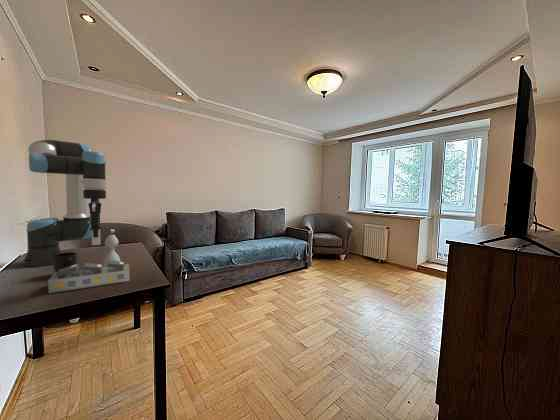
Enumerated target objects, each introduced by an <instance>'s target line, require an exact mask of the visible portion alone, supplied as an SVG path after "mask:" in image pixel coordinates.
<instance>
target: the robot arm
mask: <svg viewBox="0 0 560 420" xmlns="http://www.w3.org/2000/svg"><path fill="white" fill-rule="evenodd" d="M106 162H107V161H106V155H105V154H104V153H103V152H100V151H94V150H93V151H92V150H91V147H90V146H89V145H87V144H86V143H85V144H84V143H79V142H71V141H63V140H55V139H41V140H37V141H34V142H31V144H30V145H29V147H28V167H29V168H28V169H29V171H31V172H32V173H39V174H59V175H60V174H61V175H65V184H66V185H65V191H66V194H65V196H66V197H65V198H66V213H65V215H63V217H62V218H63V219H60V220H59V217H46V218H39V219H34V220H30V221H28V222H27V223H26V231H25V232H26V235H27V236H26V238H27V251H26V254H25V256H24V258H23V263H22V264H23V266H24V267H29V268H31V267H34V268H35V267H44V266H50V265H51V266H52V265H53V257H52V256H53V255H55V254H59V253H63V252H62V250H61V248H60V245H59V244H60V242H67V241H77V240H81V241H82V240H86V239H90V238H91V246H97V245H99V246H100V245H101V229H103V227H102V226H101V213H102V202H100V199H101V200H103V199H104V200H105V199H106V198H107V190H106V189H107V178H106ZM87 199H90V202H89V203H87ZM87 205H88V207H87ZM87 208H89V213H88V209H87Z"/></svg>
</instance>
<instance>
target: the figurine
mask: <svg viewBox="0 0 560 420" xmlns="http://www.w3.org/2000/svg"><path fill="white" fill-rule="evenodd" d="M115 232H116V230H115V229H112V228H111V229H110V233H111V234H109V235H107V237H106V238H105V240H104V246H105V247H106V248H108V250H109V251H108V253H107V254H106V255H105V257H104V258H103V261H102V267H107V264H108V261H118V262H122V261H121V258H120V256H119V254H118V253H117V252H116V251H115V248H116V247H117V246H118V245H119V239H118V238H117V237H116V235H115V234H113V233H115Z"/></svg>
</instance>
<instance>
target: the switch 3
mask: <svg viewBox="0 0 560 420" xmlns="http://www.w3.org/2000/svg"><path fill="white" fill-rule="evenodd" d="M124 264H125V262H124V261H121V262H118V261H108V264H107V267H111V268H122V269H123V267H124Z"/></svg>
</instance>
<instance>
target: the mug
mask: <svg viewBox="0 0 560 420" xmlns="http://www.w3.org/2000/svg"><path fill="white" fill-rule="evenodd" d="M77 255H78V254H77V252H73V251H72V252H71V251H69V252H62V253H59V254H55V255H53V256H52V257H53V264H52V266H53V269H54V271H55V272H54V273H57V272H58V271H59V270H60V269H63V268H66V267H69V266H72V265H75V264H77V262H78V261H77V260H78V258H77V257H78V256H77Z"/></svg>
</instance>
